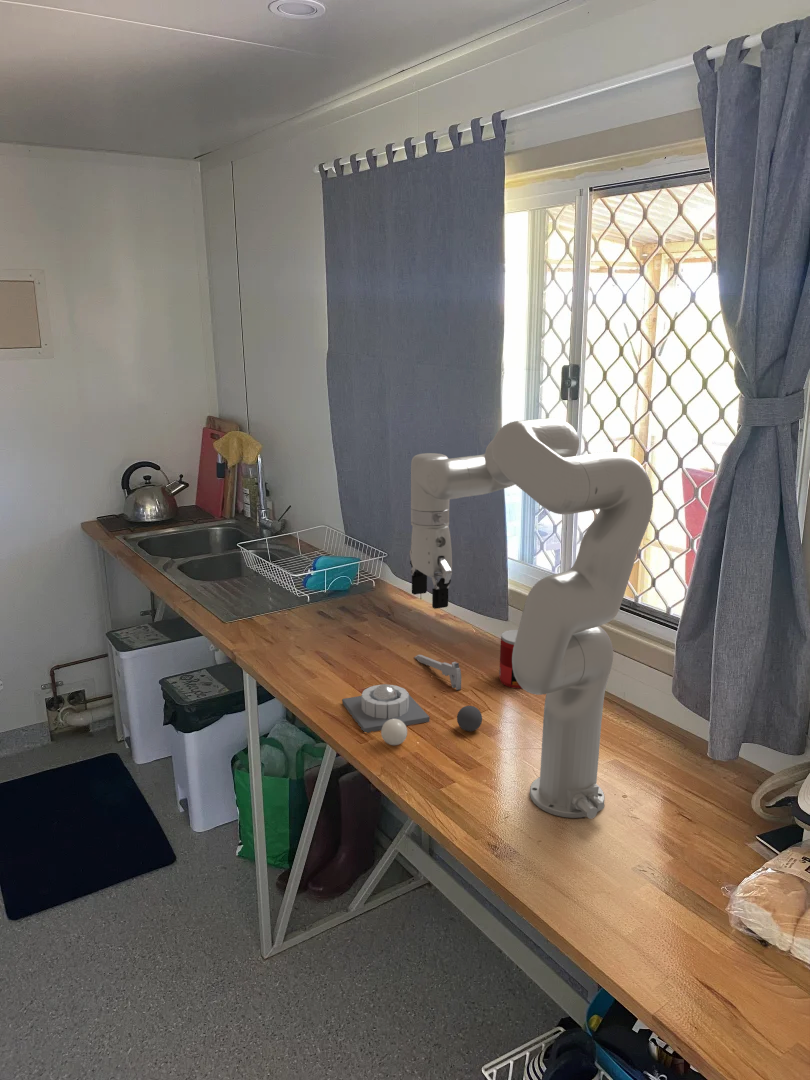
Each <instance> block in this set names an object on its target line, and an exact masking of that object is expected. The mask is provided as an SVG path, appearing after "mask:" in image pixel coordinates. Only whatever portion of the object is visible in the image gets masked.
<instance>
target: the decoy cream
mask: <svg viewBox="0 0 810 1080" xmlns="http://www.w3.org/2000/svg"><path fill="white" fill-rule="evenodd" d="M380 736H381V738H382V740H383V741H384V742H385V743H386V744H387V745H390V746H398V745H401V744H403V742H405V741H406V739H407V736H408V728H407V726H406V725H405V724H404V723H403V722H402V721H401V720H399V719H390V720H388V721H386V722H385V723H384V724H383V726H382V729H381V730H380Z"/></svg>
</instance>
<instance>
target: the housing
mask: <svg viewBox="0 0 810 1080" xmlns="http://www.w3.org/2000/svg"><path fill="white" fill-rule="evenodd" d="M380 685H381V684H377V685H372V686H369V687H367V688H365V689H364V690H363V691H362V693H361V695H358V696H351V697H346V698H342V699H341V700H342V704H343V706H344V707H345V708H346V710H347V712H348V713H349V715H350V716H351V715H352V716H351V717H352V719H353V720H354V719H355V720H354V721H355V723H356V722H357V723H358V724H357V723H356V724H357V726H358V727H359V726H360V727H361V728H360V727H359V728H360V730H361V731H362V730H363V731H364V732H367V733H371V731H373V732H378V731H381V729H382V726H383V724H384V723H385V722H386V721H388V720H390V719H399V720H401V721H402V722H403V723H404V724H405V725H406V727H407V726H413V725H418V724H423V723H430V715H429V714H428V713H426V711H425V710H424V709H423V708H422V707H421V706H420V705H419V704H418V702H416V701H415V699H414V698H413V697H412V696H411V695H410V693H409V692H408V691H407V689H405V688H404V687H401V686H398V685H394V684H389V685H390V686H392V687H393V688H394V689H395V690H396V693H397V699H396V700H394V701H388V702H384V701H377V700H374V699H373V693H374V691H375V689H376V688H377V687H378V686H380ZM363 731H362V732H363ZM364 732H363V733H364Z"/></svg>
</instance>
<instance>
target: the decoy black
mask: <svg viewBox="0 0 810 1080" xmlns="http://www.w3.org/2000/svg"><path fill="white" fill-rule="evenodd" d="M456 715H457V716H456V722H457V724H458V727H460V728H461V729H462V730H463V731H465V732H474V731H476V730H478V729H479V727H481V725H482V722H483V716H482V712H481V711H480V709H478V707H476V706H474V705H465V706H463V707H462V708H460V709H459V710H458V713H457V714H456Z"/></svg>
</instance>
